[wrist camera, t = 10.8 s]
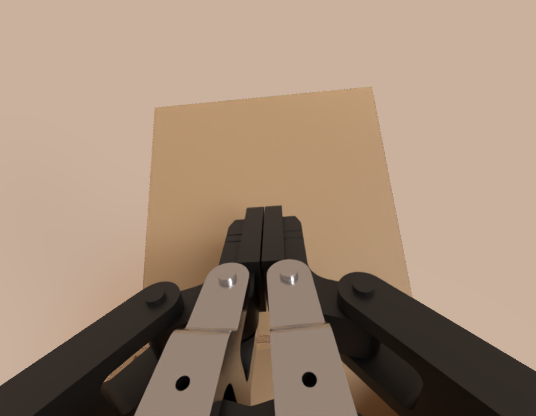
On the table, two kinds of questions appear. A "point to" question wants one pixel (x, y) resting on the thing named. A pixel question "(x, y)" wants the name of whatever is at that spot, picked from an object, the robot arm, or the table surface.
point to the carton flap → (273, 184)
